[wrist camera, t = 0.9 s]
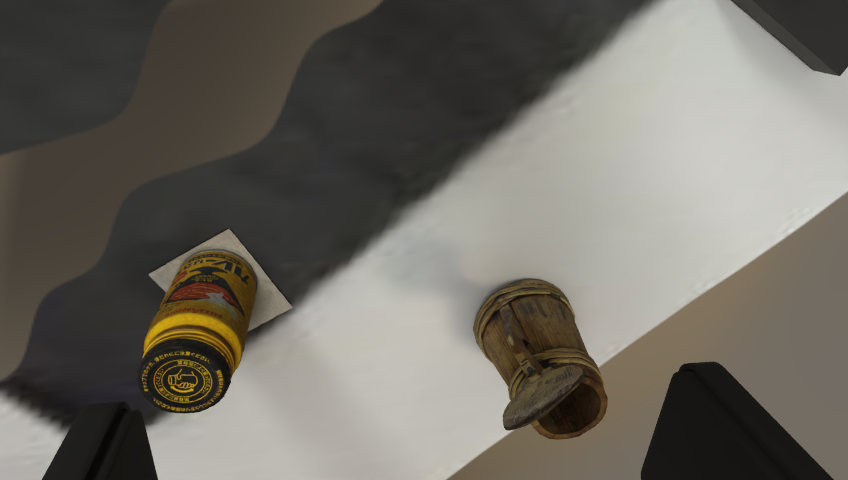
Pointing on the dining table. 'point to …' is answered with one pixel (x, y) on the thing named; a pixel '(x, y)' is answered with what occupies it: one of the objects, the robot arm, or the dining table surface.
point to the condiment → (204, 323)
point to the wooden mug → (541, 360)
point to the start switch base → (806, 29)
